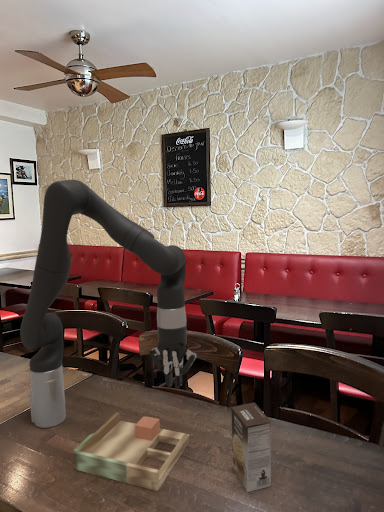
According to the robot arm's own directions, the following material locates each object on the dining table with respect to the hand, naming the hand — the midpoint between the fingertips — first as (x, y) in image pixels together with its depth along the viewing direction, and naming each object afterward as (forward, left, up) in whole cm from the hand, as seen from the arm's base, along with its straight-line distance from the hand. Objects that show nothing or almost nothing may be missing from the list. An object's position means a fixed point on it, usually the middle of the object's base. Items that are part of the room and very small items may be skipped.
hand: (174, 386), depth 102 cm
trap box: (-9, -7, -17) cm, 20 cm away
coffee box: (+22, -5, -17) cm, 28 cm away
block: (-8, 0, -15) cm, 17 cm away
